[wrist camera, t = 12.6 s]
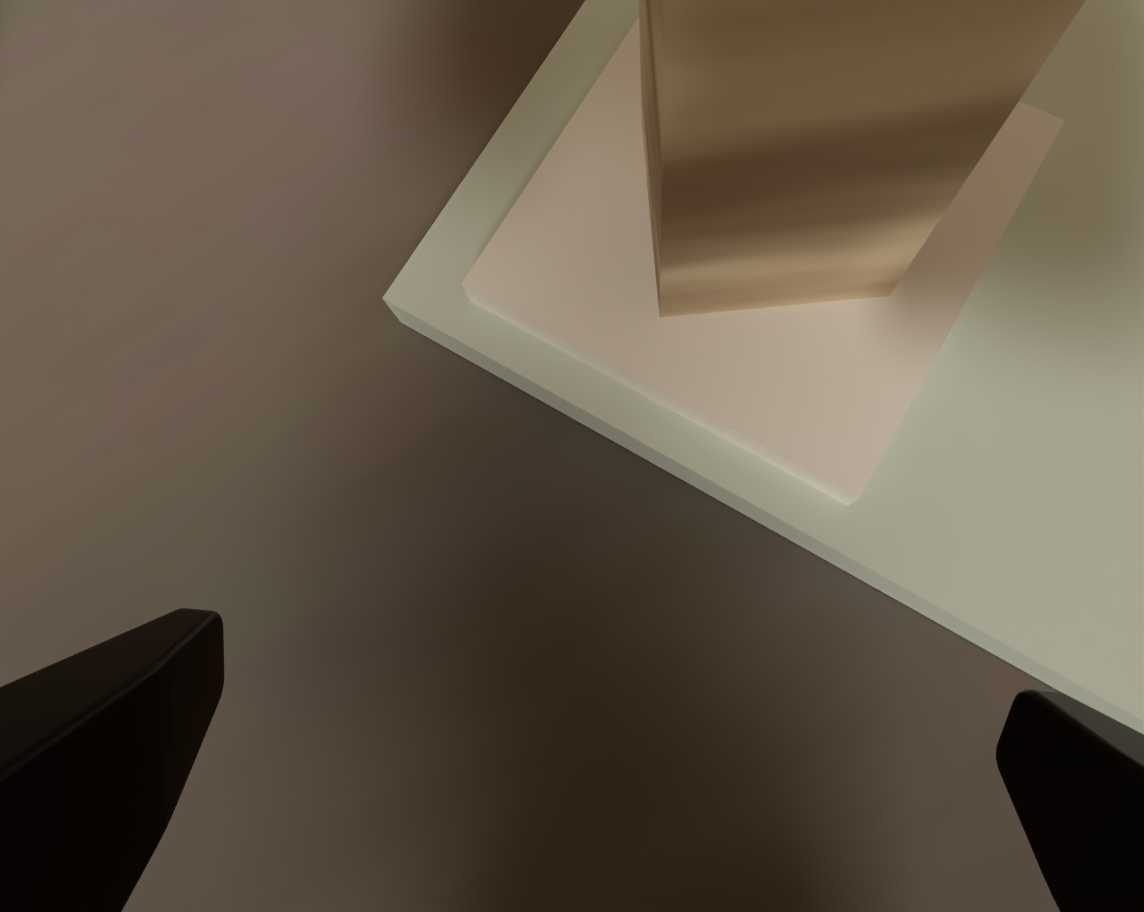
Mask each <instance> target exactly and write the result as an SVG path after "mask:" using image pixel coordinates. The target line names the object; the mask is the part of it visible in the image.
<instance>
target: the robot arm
mask: <svg viewBox="0 0 1144 912" xmlns="http://www.w3.org/2000/svg"><path fill="white" fill-rule="evenodd" d="M223 684H224V639H223V622H222V618H221V616H220V615H219V614H218V613H217V612H215V611H208V610H197V609H187V608H183V609H177V610H175V611H173V612H170V613H168V614H166V615H164V616H161V617H159V618H157V619H154V620H152V621H150V622H148V623H145V624H143V625H141V626H139V627H136V628H134V629H132V630H129V631H127V632H125V633H123V634H120V635H118V636H116V637H113V638H111V639H109V640H107V641H104V642H102V643H100V644H98V645H95V646H93V647H91V648H88V649H86V650H84V651H82V652H79V653H77V654H75V655H72V656H70V657H68V658H66V659H63V660H61V661H59V662H56V663H54V664H52V665H50V666H47V667H45V668H43V669H41V670H38V671H36V672H34V673H31V674H29V675H27V676H25V677H22V678H20V679H18V680H15V681H13V682H11V683H9V684H6V685H4V686H2V687H0V912H121V911H122V910H123V908H124V906H125V904H126V902H127V900H128V899H129V897H130V895H131V893H132V891H133V890H134V888H135V886H136V884H137V882H138V880H139V879H140V877H141V875H142V873H143V871H144V869H145V868H146V866H147V864H148V862H149V860H150V858H151V857H152V855H153V853H154V851H155V849H156V847H157V845H158V843H159V842H160V840H161V838H162V836H163V834H164V832H165V830H166V828H167V826H168V823H169V821H170V819H171V817H172V814H173V812H174V810H175V807H176V805H177V803H178V800H179V798H180V795H181V793H182V791H183V788H184V786H185V783H186V781H187V778H188V776H189V774H190V771H191V769H192V766H193V764H194V761H195V759H196V756H197V754H198V752H199V749H200V747H201V744H202V742H203V739H204V737H205V735H206V732H207V730H208V727H209V725H210V722H211V720H212V718H213V715H214V713H215V710H216V708H217V705H218V703H219V700H220V697H221V694H222V690H223ZM996 760H997V765H998V769H999V772H1000V774H1001V776H1002V779H1003V781H1004V783H1005V786H1006V788H1007V791H1008V793H1009V795H1010V798H1011V800H1012V802H1013V805H1014V807H1015V810H1016V812H1017V814H1018V817H1019V819H1020V822H1021V824H1022V826H1023V829H1024V831H1025V833H1026V836H1027V838H1028V841H1029V843H1030V845H1031V848H1032V850H1033V852H1034V855H1035V857H1036V860H1037V862H1038V864H1039V867H1040V869H1041V871H1042V874H1043V876H1044V878H1045V881H1046V883H1047V885H1048V887H1049V889H1050V892H1051V894H1052V896H1053V898H1054V900H1055V902H1056V904H1057V906H1058V908H1059V910H1060V912H1144V734H1142V733H1140V732H1138V731H1136V730H1134V729H1132V728H1130V727H1128V726H1126V725H1125V724H1123V723H1121V722H1119V721H1117V720H1115V719H1113V718H1111V717H1109V716H1107V715H1105V714H1103V713H1101V712H1099V711H1097V710H1095V709H1093V708H1091V707H1090V706H1088V705H1086V704H1084V703H1082V702H1080V701H1078V700H1076V699H1074V698H1072V697H1070V696H1068V695H1066V694H1064V693H1062V692H1058V691H1053V690H1042V689H1030V688H1028V689H1024V690H1022V691H1020V692H1019V693H1018V694H1017V695H1016V697H1015V699H1014V701H1013V703H1012V706H1011V709H1010V711H1009V714H1008V717H1007V720H1006V722H1005V725H1004V728H1003V730H1002V733H1001V736H1000V738H999V741H998V744H997V749H996Z"/></svg>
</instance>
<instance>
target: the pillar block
mask: <svg viewBox="0 0 1144 912" xmlns="http://www.w3.org/2000/svg"><path fill="white" fill-rule="evenodd" d="M1085 1H1086V0H639V30H640V77H641V123H642V134H643V145H644V156H645V167H646V177H647V188H648V199H649V210H650V221H651V231H652V242H653V253H654V264H655V275H656V286H657V296H658V307H659V318H661V317H672V316H682V315H693V314H703V313H714V312H724V311H735V310H746V309H756V308H767V307H777V306H788V305H798V304H809V303H819V302H830V301H841V300H851V299H862V298H872V297H883V296H889V295H890V294H891V292H892V291H893V289H894V288H895V286H896V285H897V283H898V282H899V280H900V279H901V277H902V276H903V274H904V273H905V271H906V270H907V268H908V267H909V265H910V264H911V262H912V261H913V259H914V258H915V256H916V255H917V253H918V252H919V250H920V249H921V247H922V246H923V244H924V243H925V241H926V240H927V238H928V237H929V235H930V234H931V232H932V231H933V229H934V228H935V226H936V225H937V223H938V222H939V220H940V219H941V217H942V216H943V214H944V213H945V211H946V210H947V208H948V207H949V205H950V204H951V202H952V201H953V199H954V198H955V196H956V195H957V193H958V192H959V190H960V189H961V187H962V186H963V184H964V183H965V181H966V180H967V178H968V177H969V175H970V174H971V172H972V171H973V169H974V168H975V166H976V165H977V163H978V162H979V160H980V159H981V157H982V156H983V154H984V153H985V151H986V150H987V148H988V147H989V145H990V144H991V142H992V141H993V139H994V138H995V136H996V135H997V133H998V132H999V130H1000V129H1001V127H1002V126H1003V124H1004V123H1005V121H1006V120H1007V118H1008V117H1009V115H1010V114H1011V112H1012V111H1013V109H1014V108H1015V106H1016V105H1017V103H1018V102H1019V100H1020V99H1021V97H1022V96H1023V94H1024V93H1025V91H1026V90H1027V88H1028V87H1029V85H1030V84H1031V82H1032V81H1033V79H1034V78H1035V76H1036V75H1037V73H1038V72H1039V70H1040V69H1041V67H1042V66H1043V64H1044V63H1045V61H1046V60H1047V58H1048V57H1049V55H1050V54H1051V52H1052V51H1053V49H1054V48H1055V46H1056V45H1057V43H1058V42H1059V40H1060V39H1061V37H1062V36H1063V34H1064V33H1065V31H1066V30H1067V28H1068V27H1069V25H1070V24H1071V22H1072V21H1073V19H1074V18H1075V16H1076V15H1077V13H1078V12H1079V10H1080V9H1081V7H1082V6H1083V4H1084V3H1085Z"/></svg>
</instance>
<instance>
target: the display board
mask: <svg viewBox="0 0 1144 912" xmlns="http://www.w3.org/2000/svg"><path fill="white" fill-rule="evenodd" d="M382 299H383V300H384V301H385V302H386V304H387V305H388V306H389V308H390V309H391V310H392V312H393V313H394V314H395V315H396V317H397V318H398V319H399V321H400V322H401V323H403V324H405V325H406V326H408V327H410V328H412V329H414V330H415V331H417V332H419V333H421V334H422V335H424V336H426V337H428V338H430V339H431V340H433V341H435V342H437V343H439V344H440V345H442V346H444V347H446V348H447V349H449V350H451V351H453V352H455V353H456V354H458V355H460V356H462V357H464V358H465V359H467V360H469V361H471V362H472V363H474V364H476V365H478V366H480V367H481V368H483V369H485V370H487V371H489V372H490V373H492V374H494V375H496V376H497V377H499V378H501V379H503V380H505V381H506V382H508V383H510V384H512V385H514V386H515V387H517V388H519V389H521V390H522V391H524V392H526V393H528V394H530V395H531V396H533V397H535V398H537V399H539V400H540V401H542V402H544V403H546V404H547V405H549V406H551V407H553V408H555V409H556V410H558V411H560V412H562V413H564V414H565V415H567V416H569V417H571V418H572V419H574V420H576V421H578V422H580V423H581V424H583V425H585V426H587V427H589V428H590V429H592V430H594V431H596V432H598V433H599V434H601V435H603V436H605V437H606V438H608V439H610V440H612V441H614V442H615V443H617V444H619V445H621V446H623V447H624V448H626V449H628V450H630V451H631V452H633V453H635V454H637V455H639V456H640V457H642V458H644V459H646V460H648V461H649V462H651V463H653V464H655V465H656V466H658V467H660V468H662V469H664V470H665V471H667V472H669V473H671V474H673V475H674V476H676V477H678V478H680V479H681V480H683V481H685V482H687V483H689V484H690V485H692V486H694V487H696V488H698V489H699V490H701V491H703V492H705V493H706V494H708V495H710V496H712V497H714V498H715V499H717V500H719V501H721V502H723V503H724V504H726V505H728V506H730V507H731V508H733V509H735V510H737V511H739V512H740V513H742V514H744V515H746V516H748V517H749V518H751V519H753V520H755V521H756V522H758V523H760V524H762V525H764V526H765V527H767V528H769V529H771V530H773V531H774V532H776V533H778V534H780V535H781V536H783V537H785V538H787V539H789V540H790V541H792V542H794V543H796V544H798V545H799V546H801V547H803V548H805V549H806V550H808V551H810V552H812V553H814V554H815V555H817V556H819V557H821V558H823V559H824V560H826V561H828V562H830V563H832V564H833V565H835V566H837V567H839V568H840V569H842V570H844V571H846V572H848V573H849V574H851V575H853V576H855V577H857V578H858V579H860V580H862V581H864V582H865V583H867V584H869V585H871V586H873V587H874V588H876V589H878V590H880V591H882V592H883V593H885V594H887V595H889V596H890V597H892V598H894V599H896V600H898V601H899V602H901V603H903V604H905V605H907V606H908V607H910V608H912V609H914V610H915V611H917V612H919V613H921V614H923V615H924V616H926V617H928V618H930V619H932V620H933V621H935V622H937V623H939V624H940V625H942V626H944V627H946V628H948V629H949V630H951V631H953V632H955V633H957V634H958V635H960V636H962V637H964V638H965V639H967V640H969V641H971V642H973V643H974V644H976V645H978V646H980V647H982V648H983V649H985V650H987V651H989V652H990V653H992V654H994V655H996V656H998V657H999V658H1001V659H1003V660H1005V661H1007V662H1008V663H1010V664H1012V665H1014V666H1015V667H1017V668H1019V669H1021V670H1023V671H1024V672H1026V673H1028V674H1030V675H1032V676H1033V677H1035V678H1037V679H1039V680H1040V681H1042V682H1044V683H1046V684H1048V685H1049V686H1051V687H1053V688H1055V689H1057V690H1058V691H1060V692H1062V693H1064V694H1066V695H1068V696H1070V697H1072V698H1074V699H1076V700H1078V701H1080V702H1082V703H1084V704H1086V705H1088V706H1090V707H1091V708H1093V709H1095V710H1097V711H1099V712H1101V713H1103V714H1105V715H1107V716H1109V717H1111V718H1113V719H1115V720H1117V721H1119V722H1121V723H1123V724H1125V725H1126V726H1128V727H1130V728H1132V729H1134V730H1136V731H1138V732H1140V733H1142V734H1144V0H1086V1H1085V3H1084V4H1083V6H1082V7H1081V9H1080V10H1079V12H1078V13H1077V15H1076V16H1075V18H1074V19H1073V21H1072V22H1071V24H1070V25H1069V27H1068V28H1067V30H1066V31H1065V33H1064V34H1063V36H1062V37H1061V39H1060V40H1059V42H1058V43H1057V45H1056V46H1055V48H1054V49H1053V51H1052V52H1051V54H1050V55H1049V57H1048V58H1047V60H1046V61H1045V63H1044V64H1043V66H1042V67H1041V69H1040V70H1039V72H1038V73H1037V75H1036V76H1035V78H1034V79H1033V81H1032V82H1031V84H1030V85H1029V87H1028V88H1027V90H1026V91H1025V93H1024V94H1023V96H1022V97H1021V99H1020V100H1019V102H1018V103H1017V105H1016V106H1015V108H1014V109H1013V111H1012V112H1011V114H1010V115H1009V117H1008V118H1007V120H1006V121H1005V123H1004V124H1003V126H1002V127H1001V129H1000V130H999V132H998V133H997V135H996V136H995V138H994V139H993V141H992V142H991V144H990V145H989V147H988V148H987V150H986V151H985V153H984V154H983V156H982V157H981V159H980V160H979V162H978V163H977V165H976V166H975V168H974V169H973V171H972V172H971V174H970V175H969V177H968V178H967V180H966V181H965V183H964V184H963V186H962V187H961V189H960V190H959V192H958V193H957V195H956V196H955V198H954V199H953V201H952V202H951V204H950V205H949V207H948V208H947V210H946V211H945V213H944V214H943V216H942V217H941V219H940V220H939V222H938V223H937V225H936V226H935V228H934V229H933V231H932V232H931V234H930V235H929V237H928V238H927V240H926V241H925V243H924V244H923V246H922V247H921V249H920V250H919V252H918V253H917V255H916V256H915V258H914V259H913V261H912V262H911V264H910V265H909V267H908V268H907V270H906V271H905V273H904V274H903V276H902V277H901V279H900V280H899V282H898V283H897V285H896V286H895V288H894V289H893V291H892V292H891V294H890V295H889V296H883V297H872V298H862V299H851V300H841V301H830V302H819V303H809V304H798V305H788V306H777V307H767V308H756V309H746V310H735V311H724V312H714V313H703V314H693V315H682V316H672V317H661V318H659V307H658V296H657V286H656V275H655V264H654V253H653V242H652V231H651V221H650V210H649V199H648V188H647V177H646V167H645V156H644V145H643V134H642V123H641V77H640V30H639V0H585V2H584V3H583V5H582V6H581V8H580V9H579V11H578V12H577V14H576V15H575V16H574V18H573V19H572V21H571V22H570V24H569V25H568V27H567V28H566V30H565V31H564V33H563V34H562V36H561V37H560V38H559V40H558V41H557V43H556V44H555V46H554V47H553V49H552V50H551V52H550V53H549V55H548V56H547V58H546V59H545V60H544V62H543V63H542V65H541V66H540V68H539V69H538V71H537V72H536V74H535V75H534V77H533V78H532V80H531V81H530V82H529V84H528V85H527V87H526V88H525V90H524V91H523V93H522V94H521V96H520V97H519V99H518V100H517V102H516V103H515V104H514V106H513V107H512V109H511V110H510V112H509V113H508V115H507V116H506V118H505V119H504V121H503V122H502V124H501V125H500V126H499V128H498V129H497V131H496V132H495V134H494V135H493V137H492V138H491V140H490V141H489V143H488V144H487V146H486V147H485V149H484V150H483V151H482V153H481V154H480V156H479V157H478V159H477V160H476V162H475V163H474V165H473V166H472V168H471V169H470V171H469V172H468V173H467V175H466V176H465V178H464V179H463V181H462V182H461V184H460V185H459V187H458V188H457V190H456V191H455V193H454V194H453V195H452V197H451V198H450V200H449V201H448V203H447V204H446V206H445V207H444V209H443V210H442V212H441V213H440V215H439V216H438V217H437V219H436V220H435V222H434V223H433V225H432V226H431V228H430V229H429V231H428V232H427V234H426V235H425V237H424V238H423V239H422V241H421V242H420V244H419V245H418V247H417V248H416V250H415V251H414V253H413V254H412V256H411V257H410V259H409V260H408V261H407V263H406V264H405V266H404V267H403V269H402V270H401V272H400V273H399V275H398V276H397V278H396V279H395V281H394V282H393V283H392V285H391V286H390V288H389V289H388V291H387V292H386V294H385V295H384V297H383V298H382Z"/></svg>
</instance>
